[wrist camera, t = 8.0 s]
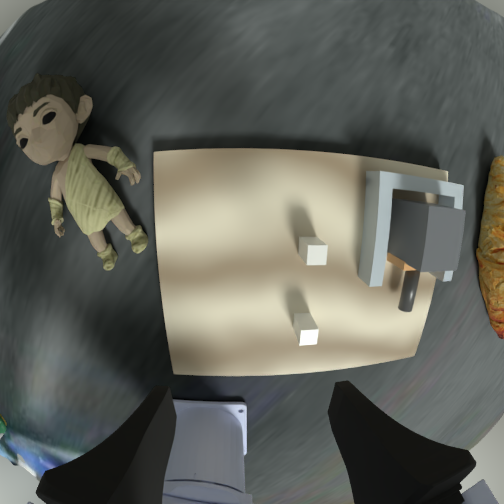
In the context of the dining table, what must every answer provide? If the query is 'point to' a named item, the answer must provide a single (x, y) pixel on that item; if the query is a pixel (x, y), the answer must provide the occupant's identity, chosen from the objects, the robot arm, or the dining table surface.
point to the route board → (276, 262)
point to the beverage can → (2, 426)
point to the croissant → (493, 247)
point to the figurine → (73, 160)
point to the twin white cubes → (311, 254)
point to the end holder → (380, 216)
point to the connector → (423, 242)
